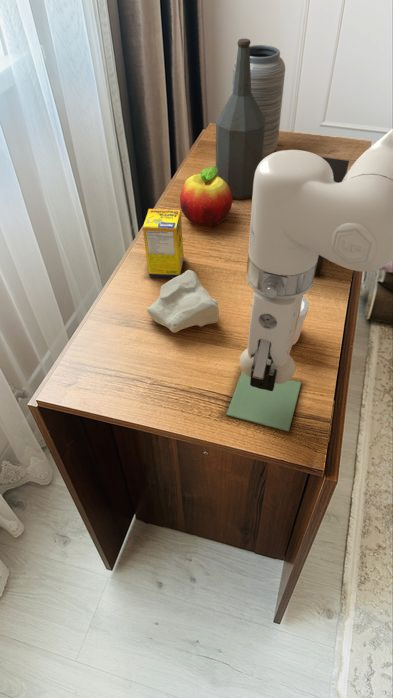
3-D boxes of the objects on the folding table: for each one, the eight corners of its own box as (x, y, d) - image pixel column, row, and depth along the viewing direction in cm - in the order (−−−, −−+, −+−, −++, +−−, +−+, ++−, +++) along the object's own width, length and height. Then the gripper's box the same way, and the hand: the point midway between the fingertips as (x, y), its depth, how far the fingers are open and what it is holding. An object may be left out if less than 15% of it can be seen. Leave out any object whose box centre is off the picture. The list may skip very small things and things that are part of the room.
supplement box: (183, 259, 96) (181, 208, 88) (180, 278, 92) (177, 228, 84) (153, 257, 97) (148, 207, 89) (148, 277, 93) (142, 226, 85)
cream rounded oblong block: (295, 370, 69) (300, 348, 66) (289, 394, 67) (293, 372, 63) (243, 357, 71) (245, 335, 68) (234, 380, 68) (236, 358, 65)
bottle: (247, 174, 118) (255, 28, 96) (268, 193, 112) (282, 42, 90) (208, 184, 115) (207, 36, 93) (227, 204, 109) (231, 51, 87)
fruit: (172, 227, 104) (169, 182, 96) (194, 201, 110) (192, 158, 103) (219, 238, 100) (220, 193, 93) (239, 211, 107) (241, 167, 100)
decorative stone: (136, 312, 84) (158, 257, 81) (173, 317, 91) (194, 266, 88) (178, 343, 77) (203, 284, 75) (214, 345, 84) (238, 291, 82)
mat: (301, 383, 75) (301, 382, 74) (288, 431, 69) (288, 430, 69) (243, 369, 77) (243, 368, 76) (226, 415, 71) (226, 414, 71)
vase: (274, 165, 121) (284, 61, 104) (227, 162, 122) (229, 58, 105) (278, 144, 128) (288, 43, 111) (234, 141, 130) (237, 41, 113)
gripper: (299, 325, 49) (279, 429, 62) (327, 232, 60) (304, 337, 73) (226, 309, 51) (222, 413, 64) (265, 221, 61) (255, 326, 75)
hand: (266, 372), depth 68 cm, fingers closed on cream rounded oblong block, 4 cm apart
